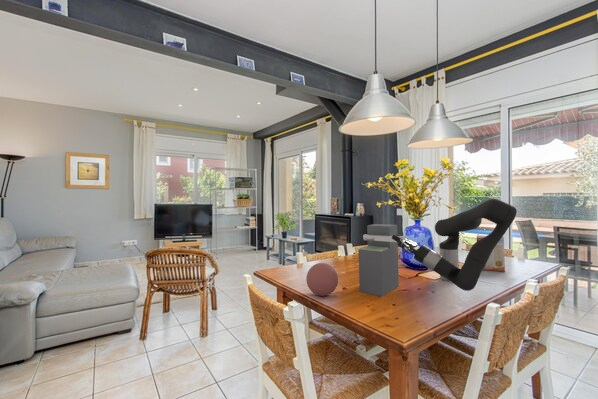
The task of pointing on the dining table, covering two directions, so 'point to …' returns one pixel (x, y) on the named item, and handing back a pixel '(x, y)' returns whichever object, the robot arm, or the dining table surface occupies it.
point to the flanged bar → (380, 238)
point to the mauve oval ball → (322, 279)
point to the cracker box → (495, 256)
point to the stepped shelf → (379, 262)
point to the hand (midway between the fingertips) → (394, 235)
